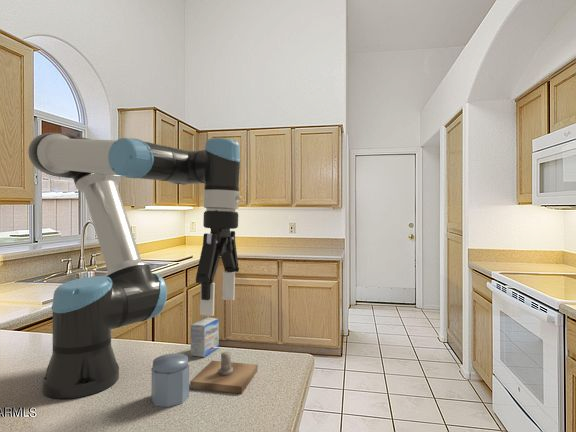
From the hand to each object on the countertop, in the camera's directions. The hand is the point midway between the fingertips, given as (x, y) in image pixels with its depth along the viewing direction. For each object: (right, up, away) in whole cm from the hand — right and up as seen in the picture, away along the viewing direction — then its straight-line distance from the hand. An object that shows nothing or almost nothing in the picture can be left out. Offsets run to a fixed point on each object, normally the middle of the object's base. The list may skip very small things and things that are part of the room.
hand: (218, 306), depth 81 cm
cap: (-9, -18, -4) cm, 21 cm away
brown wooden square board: (+1, -18, +5) cm, 19 cm away
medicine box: (-8, -19, +22) cm, 30 cm away
